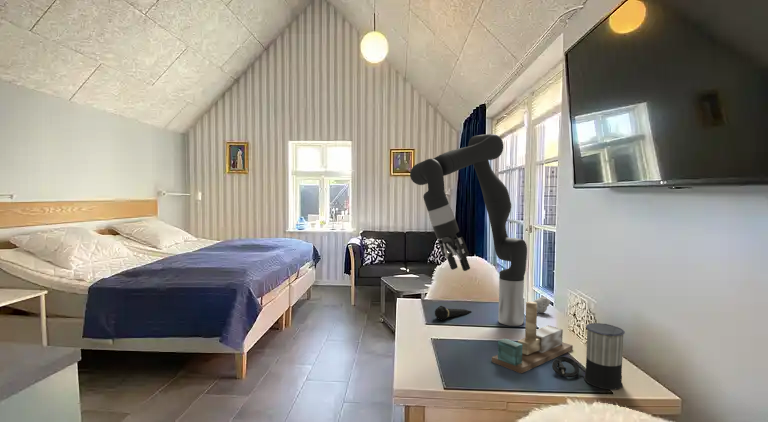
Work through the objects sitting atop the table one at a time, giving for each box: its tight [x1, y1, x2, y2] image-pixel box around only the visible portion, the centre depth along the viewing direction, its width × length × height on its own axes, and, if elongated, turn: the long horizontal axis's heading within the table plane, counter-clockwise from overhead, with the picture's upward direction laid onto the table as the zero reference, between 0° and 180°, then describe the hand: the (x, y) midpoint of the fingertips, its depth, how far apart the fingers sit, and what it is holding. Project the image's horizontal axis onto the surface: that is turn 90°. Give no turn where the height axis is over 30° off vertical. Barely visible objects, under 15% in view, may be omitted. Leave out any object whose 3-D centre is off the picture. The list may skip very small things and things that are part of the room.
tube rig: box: [491, 325, 574, 374], centre depth 129 cm, size 29×10×7 cm, turn 128°
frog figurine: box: [532, 296, 551, 314], centre depth 175 cm, size 6×7×7 cm
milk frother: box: [551, 322, 626, 391], centre depth 113 cm, size 14×16×15 cm
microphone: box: [434, 305, 473, 321], centre depth 169 cm, size 6×6×20 cm
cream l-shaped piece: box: [517, 301, 541, 355], centre depth 130 cm, size 18×3×15 cm, turn 128°
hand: (460, 269), depth 131 cm, fingers open, 8 cm apart
